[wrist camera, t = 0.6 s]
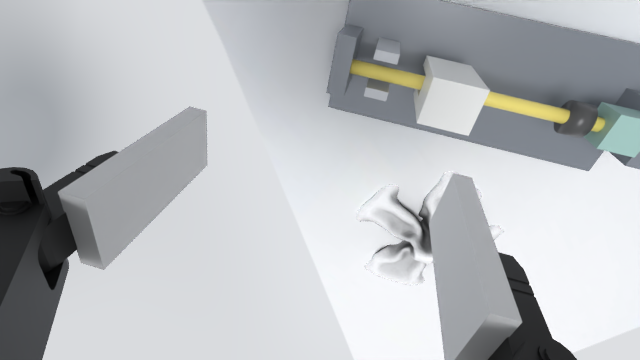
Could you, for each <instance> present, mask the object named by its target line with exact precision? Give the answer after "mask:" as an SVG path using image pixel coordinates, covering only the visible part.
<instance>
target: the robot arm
mask: <svg viewBox="0 0 640 360" xmlns="http://www.w3.org/2000/svg"><path fill="white" fill-rule="evenodd" d="M206 123H207V119H206V111H205V110H201V109H197V108H193V107H188V108H187V109H185V110H183V111H182V112H181V113H179V114H178V115H176V116H174V117H173V118H171V119H170V120H168V121H167V122H165V123H163V124H162V125H160V126H159V127H157V128H156V129H154V130H153V131H151V132H150V133H148V134H147V135H145V136H143V137H142V138H140V139H139V140H137V141H136V142H134V143H133V144H131V145H129V146H128V147H126V148H125V149H123V150H122V151H120V152H117V151H112V152H109V153H106V154H103V155H100V156H98V157H96V158H94V159H93V160H91V161H89V162H88V163H86V165H83V166H81V167H80V168H78V169H76V171H75V172H71V173H70V174H68V175H66V176H65V177H63V178H62V179H60V180H58V181H57V182H55V183H54V184H52V185H50V186H49V187H47V188H45V189H44V190H42V187H41V184H40V181H39V179H38V176H37V174H36V173H35V172H34V171H33V170H30V169H27V168H17V167H12V168H2V169H0V360H42V358H43V355H44V351H45V348H46V344H47V341H48V337H49V334H50V331H51V327H52V324H53V321H54V317H55V313H56V310H57V307H58V303H59V300H60V296H61V293H62V290H63V286H64V283H65V279H66V276H67V273H68V269H69V262H68V259H67V257H69V256H70V255H71V254H72V253H73V252H74V251H76V250H77V252H78V255H79V258H80V261H81V263H83V264H87V265H90V266H93V267H97V268H100V269H103V270H104V269H105V268H106V267H107V266H108V265H109V264H110V263H111V262H112V261H113V260H114V259H115V258H116V257H117V256H118V255H119V254H120V253H121V252H122V251H123V250H124V249H125V248H126V247H127V246H128V245H129V244H130V243H131V242H132V241H133V240H134V239H135V238H136V237H137V236H138V235H139V234H140V233H141V232H142V231H143V230H144V229H145V228H146V227H147V226H148V225H149V224H150V223H151V222H152V221H153V220H154V219H155V218H156V216H157V215H158V214H159V213H160V212H161V211H162V210H163V209H164V208H165V207H166V206H167V205H168V204H169V203H170V202H171V201H172V200H173V199H174V198H175V197H176V196H177V195H178V194H179V193H180V192H181V191H182V190H183V189H184V188H185V187H186V186H187V185H188V184H189V183H190V182H191V181H192V180H193V179H194V178H195V177H196V176H197V175H198V174H199V173H200V172H201V171H202V170H203V169H204V168H205V167H206V166H207V124H206ZM429 229H430V238H431V246H432V255H433V263H434V272H435V280H436V289H437V298H438V306H439V315H440V323H441V332H442V340H443V349H444V358H445V360H577V359H576V358H575V357H574V355H573V354H572V353H571V352H570V351H569V350H568V349H567V348H565V347H564V346H563V345H562V344H561V343H559V342H557V341H555V340H554V339H552V336H551V334H550V331H549V329H548V327H547V324H546V322H545V319H544V317H543V315H542V312H541V310H540V307H539V305H538V303H537V300H536V298H535V297H534V293H533V291H532V288H531V286H529V281H528V279H527V276H526V274H525V271H524V269H523V268H522V267H521V266H520V265H519V263H518V262H517V261H516V260H515V259H514V257H513V256H510V255H506V254H502V253H499V252H498V251H497V248H496V245H495V242H494V240H493V237H492V234H491V231H490V228H489V225H488V222H487V220H486V217H485V214H484V211H483V208H482V205H481V202H480V200H479V197H478V194H477V191H476V188H475V185H474V183H473V180H472V178H471V177H467V176H463V175H459V174H455V173H453V174H452V176H451V178H450V180H449V182H448V185H447V187H446V189H445V191H444V193H443V195H442V197H441V199H440V201H439V203H438V206H437V208H436V210H435V212H434V214H433V216H432V218H431V220H430V222H429Z"/></svg>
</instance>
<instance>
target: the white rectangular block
mask: <svg viewBox="0 0 640 360" xmlns="http://www.w3.org/2000/svg"><path fill="white" fill-rule="evenodd" d="M423 67H424V71H425V75H426V77H425V79H424V82H423V85H422V88H421V90H418V89H415V91H414V94H413V95H414V103H415V112H416V121H417V123H418V124H422V125H426V126H430V127H434V128H438V129H442V130H446V131H450V132H454V133H458V134H463V135H467V136H469V134H470V132H471V130H472V128H473V125H474V123H475V121H476V119H477V117H478V115H479V113H480V111H481V109H482V106H483V104H484V102H485V100H486V98H487V96H488V94H489V92H490V90H489V88H488V87H487V86H486V84H485V83H484V82H483V80H482V79H481V78H480V77H479V75H478V74H477V73H476V71H475V70H474V69H473V67H472V66H471V65H466V64H462V63H458V62H453V61H449V60H445V59H440V58H436V57H432V56H426V59H425V62H424V64H423Z"/></svg>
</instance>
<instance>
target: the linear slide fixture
mask: <svg viewBox="0 0 640 360" xmlns="http://www.w3.org/2000/svg"><path fill="white" fill-rule="evenodd" d="M426 56H432V57H436V58H440V59H445V60H449V61H453V62H458V63H462V64H466V65H471V66H472V67H473V69H474V70H475V71H476V73H477V74H478V75H479V77H480V78H481V79H482V80H483V82H484V83H485V84H486V86H487V87H488V88H489V90H490V92H489V94H488V96H487V98H486V100H485V102H484V104H483V106H482V109H481V111H480V113H479V115H478V117H477V119H476V121H475V123H474V125H473V128H472V130H471V132H470V134H469V136H467V135H463V134H458V133H454V132H450V131H446V130H442V129H438V128H434V127H430V126H426V125H422V124H418V123H417V121H416V112H415V103H414V95H413V94H414V91H415V89H418V90H421V88H422V85H423V82H424V79H425V77H426V75H425V71H424V67H423V64H424V62H425V59H426ZM326 93H330V94H331V96H330V101H329V106H328V107H331V108H335V109H339V110H343V111H347V112H351V113H355V114H359V115H363V116H367V117H371V118H375V119H379V120H383V121H388V122H392V123H396V124H400V125H404V126H408V127H412V128H416V129H420V130H424V131H428V132H432V133H436V134H440V135H444V136H448V137H452V138H456V139H460V140H464V141H468V142H472V143H477V144H481V145H485V146H489V147H493V148H497V149H501V150H505V151H509V152H513V153H517V154H521V155H525V156H529V157H533V158H537V159H541V160H545V161H549V162H553V163H557V164H561V165H565V166H570V167H574V168H578V169H582V170H586V171H589V170H590V169H591V167H592V166H593V165H594V163H595V162H596V161H597V159H598V158H599V157H600V155H601V154H602V153H603V151H604V150H605V151H609V152H610V153H611V154H612V155H613V156H615V157H616V158H617V159H618V160H619V161H620V162H621V163H623V164H624V165H625V166H628V167H633V168H637V169H640V44H638V43H633V42H629V41H624V40H620V39H615V38H611V37H606V36H601V35H597V34H592V33H588V32H583V31H579V30H574V29H569V28H565V27H560V26H556V25H551V24H547V23H542V22H537V21H533V20H528V19H524V18H519V17H515V16H510V15H505V14H501V13H496V12H492V11H487V10H483V9H478V8H473V7H469V6H464V5H460V4H455V3H451V2H446V1H441V0H350V2H349V7H348V12H347V17H346V22H345V27H344V28H343V29H342V30H341V31H340V32H339V33H338V36H337V41H336V46H335V51H334V56H333V61H332V67H331V72H330V77H329V82H328V87H327V92H326Z"/></svg>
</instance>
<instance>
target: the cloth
mask: <svg viewBox="0 0 640 360" xmlns="http://www.w3.org/2000/svg"><path fill="white" fill-rule="evenodd" d="M453 173H455V174H458V173H456V172H454V171H447V172H444V175H443V176H442V178H441V179H440V181H439V183H438V184H437V185H436V186H435V187H434V188H433V189H432V190H431V192H430V193H429V194H428V195H427V196H426V198H425V199H424V203H423V207H422V210H421V212H420V213H419V216H420V217H422V218H423V220H422V221H418V219H417V218H416V217H415V216H414V215H413V214H412V213H410V212H409V211H408V210H407V209H405V208H404V207H403V206H401V205H400V203H399V200H398V199H397V194H398V191H399V187H398V186H397V185H394V184H389V185H388V186H385V187H384V188H382V189H380V190H379V191H378V192H377V193H376V194H375V195H374V196H373V198H371V199H369V200H368V201H367V202H366V203H365V204H364V205H363V206H362V207H361V208H360V209H359V210H358V212H357V214H356V218H357V220H359V221H360V222H361V221H373V222H375V223H376V224H378V225H379V226H381V227H383V228H384V229H385V230H387V231H388V232H389V233H390V234H392V235H393V236H395V237H397V238H399V239H401V240H404V241H402V242H401V243H399V244H397V245H387V246H386V247H385V248H383V249H382V250H381V251H379V252H378V253H375V254H374V256H373V258H372V259H371V260H370V261H369V262H368V263H366V265H365V269H366V270H368V271H370V272H371V273H373V274H375V275H377V276H379V277H382V278H385V279H388V280H391V281H395V282H399V283H402V284H406V285H418V284H421V283H423V282H424V281H425V280H424V278H423V276H422V271H423V269H424V268H425V266H426V264H430V263H433V255H432V246H431V238H430V229H429V222H430V220H431V218H432V216H433V214H434V212H435V210H436V208H437V206H438V203H439V201H440V199H441V197H442V195H443V193H444V191H445V189H446V187H447V185H448V182H449V180H450V178H451V176H452V174H453ZM476 191H477V194H478V197H479V200H480V199H481V197H482V196H481V192H480V191H479V190H477V189H476ZM489 228H490V231H491V234H492V237H493V240H495V239H496V238H497V237H498V236H499V235H500V234H501V233H502V232H504V231H503V230H502V228H501V227H500V226H499V225H491V226H489Z"/></svg>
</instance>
